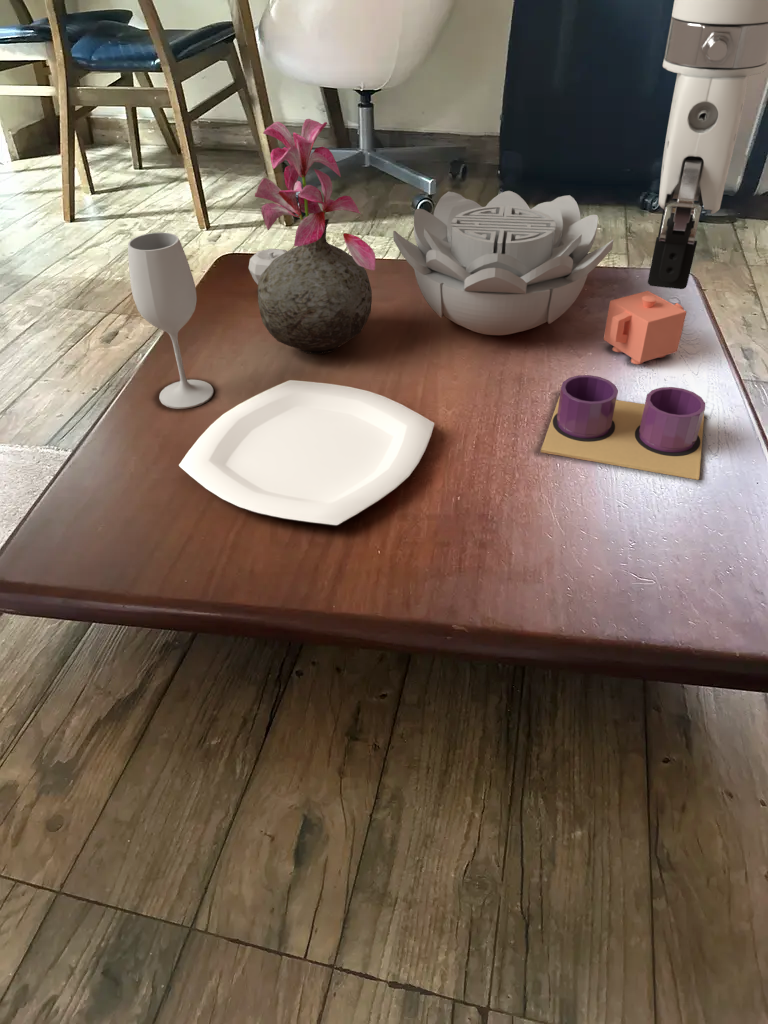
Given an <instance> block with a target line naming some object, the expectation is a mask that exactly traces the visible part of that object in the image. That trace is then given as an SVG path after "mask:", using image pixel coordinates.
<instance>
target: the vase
mask: <svg viewBox="0 0 768 1024" xmlns="http://www.w3.org/2000/svg"><path fill="white" fill-rule="evenodd" d="M327 125H328V122H327V121H324V122H323V123H321V122H319V121H316V120H314V119H311V118H305V120H304V121H303V124H302V126H301V134H299V133H296V132H293V133H292V134H291V132H290V131H289V129H288V128H287V126H286V125H285V124H283V123H282V122H280V121H274V122H273V123H272V124H271V125H268V127H266V128H265V130H264V131H263V132H262V134H264V135H267V136H270V137H272V138H275V139H276V140H278V141H279V142H281V143H282V144H283V145H284V147H283V148H280V147H275V148H273V149H272V150H271V152H270V163H271V166H272V169H273V170H274V169H275V168H277V167H278V166H280V164H282V163H284V162H285V161H286V162H287V163H288V164H289V165H287V166H286V167H285V168H284V172H283V178H284V184H285V186H286V189H285V190H281V188H280V187H279V186H278V185H277V184H276V183H275V182H273V181H272V180H271V179H269V178H267V177H264V178H262V179H261V181H260V182H259V184H258V186H257V189H256V192H255V193H254V197H255V198H259V199H265V200H267V201H271V202H270V203H269V202H268V203H267V202H266V203H265V204H264V205H262V206H261V209H260V212H261V216H262V219H263V222H264V225H265V227H266V229H267V231H270V229H271V228H272V227H273V225H274V224H275V222H277V220H278V219H280V217H282V216H284V215H286V216H292V217H295V218H298V219H300V222H299V224H298V226H297V229H296V231H295V238H294V242H293V248H291V249H290V250H286V251H287V252H286V253H284V254H282V255H280V256H279V257H277V258H276V259H274V260H273V261H272V263H271V264H270V265H269V266H268V267H267V268H266V270H265V271H264V272H263V273H262V274H261V277H260V279H259V281H258V285H257V302H258V303H257V304H258V309H259V314H260V318H261V321H262V324H263V325H264V327H265V328H266V330H267V332H268V334H270V335H271V337H273V338H274V339H275V341H276V342H279V343H281V344H284V345H285V346H289V347H291V348H295V349H297V350H299V351H300V352H303V353H306V354H309V355H310V354H312V355H321V354H323V355H324V354H328V353H331V352H334V351H336V350H337V349H339V348H340V347H341V346H343V345H345V344H346V343H348V342H349V341H351V340H353V338H355V337H357V336H358V335H360V334H361V333H362V331H363V329H364V327H365V326H366V324H367V322H368V320H369V317H370V316H371V313H372V305H373V304H372V303H373V295H372V294H373V292H372V286H371V282H370V278H369V275H368V272H367V270H370V271H375V270H376V261H377V260H376V259H377V258H376V253H375V251H374V249H373V248H372V247H371V246H370V245H369V244H368V243H367V242H366V241H365V240H363V239H362V238H361V237H359V236H357V235H354V234H351V233H347V232H344V233H343V234H342V235H343V240H344V243H345V246H346V248H347V250H348V252H349V253H348V252H347V251H345V250H344V249H342V248H340V247H338V246H335V245H333V244H331V243H329V242H328V241H327V228H328V224H329V221H330V219H329V218H326V213H331V212H335V211H336V212H337V211H348V212H353V213H356V214H359V215H361V214H362V213H361V212H360V210H359V207H358V206H357V204H356V202H355V201H354V199H353V197H351V196H350V195H342V196H340V197H338V198H336V199H331V196H332V194H333V182H332V180H331V177H330V176H329V175H328V174H327V173H325V172H324V171H321V170H320V169H316V168H313V170H314V172H315V174H316V176H317V178H318V180H319V183H320V185H321V190H320V189H319V188H317V186H314V185H311V184H307V180H306V179H307V177H306V176H307V174H308V172H309V170H310V168H311V167H312V166H313V164H314V163H320V164H321V165H324V166H326V167H328V168H329V169H330V170H331V171H333V172H334V173H335V174H336V175H337V176H339V177H340V178H341V177H342V176H341V172H340V169H339V166H338V164H337V161H336V159H335V156H334V155H333V153H332V151H331V150H330V149H329V148H327V147H325V146H318V147H316V148H314V150H313V146H314V143H315V142H316V140H317V138H318V136H319V135H320V133H322V131H323V130H324V129H325V127H326V126H327ZM312 150H313V151H312ZM299 178H300V179H301V180H302V182H301V181H299V180H298V179H299ZM297 193H298V194H297ZM319 204H320V205H321V207H320V205H319ZM321 208H322V209H321ZM302 213H304V214H305V217H303V214H302Z"/></svg>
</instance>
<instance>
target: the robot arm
mask: <svg viewBox="0 0 768 1024" xmlns="http://www.w3.org/2000/svg"><path fill="white" fill-rule="evenodd" d="M668 28H669V29H668V34H667V39H666V45H665V51H664V56H663V60H662V61H663V62H662V68H663V69H665V70H666V71H668V72H672V73H675V74H676V78H675V85H674V89H673V94H672V101H671V105H670V110H669V111H670V112H669V117H668V122H667V129H666V134H665V140H664V142H665V143H664V148H663V154H662V162H661V169H660V170H661V171H660V183H659V192H658V193H659V194H658V206H659V207H660V208H661V209H663V210H662V214H661V219H660V220H661V221H660V225H659V230H658V235H657V237H656V239H655V243H654V249H653V253H652V258H651V263H650V268H649V273H648V278H647V285H649V286H651V287H658V288H667V289H674V290H675V289H676V290H683V289H684V290H685V289H686V288H687V286H688V282H689V278H690V275H691V270H692V265H693V263H694V262H693V261H694V258H695V254H696V249H697V244H698V240H696V235H697V233H698V232H697V231H698V227H699V221H700V217H701V213H702V210H704V211H705V210H706V211H710V214H711V215H712V214H713V215H714V214H716V213H717V212H718V211H719V210H720V209H721V205H722V201H723V196H724V191H725V187H726V182H727V179H728V175H729V171H730V166H731V162H732V157H733V153H734V150H735V145H736V141H737V136H738V133H739V128H740V124H741V119H742V115H743V111H744V110H743V109H744V104H745V101H746V96H747V95H746V94H747V90H748V82H749V77H750V76H755V75H760V74H761V73H765V71H766V69H767V65H768V0H674V1H673V7H672V13H671V18H670V22H669V27H668Z"/></svg>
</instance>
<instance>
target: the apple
mask: <svg viewBox="0 0 768 1024" xmlns="http://www.w3.org/2000/svg"><path fill="white" fill-rule="evenodd" d="M287 251H288V250H286V249H282V248H281V249H280V248H267V249H263V250H262V249H261V250H258V251H256V252H255V253H254V254H253V255H252V256H251V257H250V258H249V263H248V270H249V273H250V275H251V277H252V279H253V281H254V282H255V284H256V285H257V286H258V281H259V279H260V277H261V274H262V273H263V272H264V271H265V270H266V268H267V267H268V266H269V265H270V264H271V263H272V261H273V260H274V259H276V258H277V257H279V256H280V255H282V254H284V253H286V252H287Z"/></svg>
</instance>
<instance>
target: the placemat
mask: <svg viewBox="0 0 768 1024" xmlns="http://www.w3.org/2000/svg"><path fill="white" fill-rule="evenodd" d="M559 399H560V395H559V396H558V398H557V402H556V405H555V409H554V411H553V413H552V417H551V420H550V421H549V422H550V423H549V425H548V428H547V432H546V434H545V437H544V440H543V443H542V445H541V448H540V453H541V454H549V455H555V456H560V457H565V458H570V459H571V458H572V459H578V460H583V461H588V462H594V463H599V464H604V465H611V466H616V467H623V468H627V469H628V468H629V469H633V470H639V471H645V472H651V473H656V474H661V475H662V474H663V475H668V476H673V477H679V478H685V479H690V480H697V481H699V480H700V474H701V463H702V462H701V460H702V449H703V448H702V447H703V437H704V436H703V435H704V422H705V414H704V415H703V418H702V422H701V425H700V429H699V432H698V436H697V440H696V442H695V444H694V446H693V447H692V448H690V449H689V450H686V451H683V452H676V453H671V452H663V451H659V450H656V449H653V448H651V447H649V446H647V445H646V444H645V443H643V442H642V440H641V439H640V437H639V429H640V424H641V419H642V415H643V410H644V405H645V403H640V402H639V403H638V402H632V401H626V400H619V399H617V400H616V405H615V410H614V415H613V420H612V425H611V429H610V431H609V432H608V433H607V434H605V435H604V436H601V437H598V438H591V439H585V438H578V437H574V436H571V435H568V434H566V433H565V432H563V431H562V430H561V429H560V428H559V427H558V425H557V413H558V406H559Z"/></svg>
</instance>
